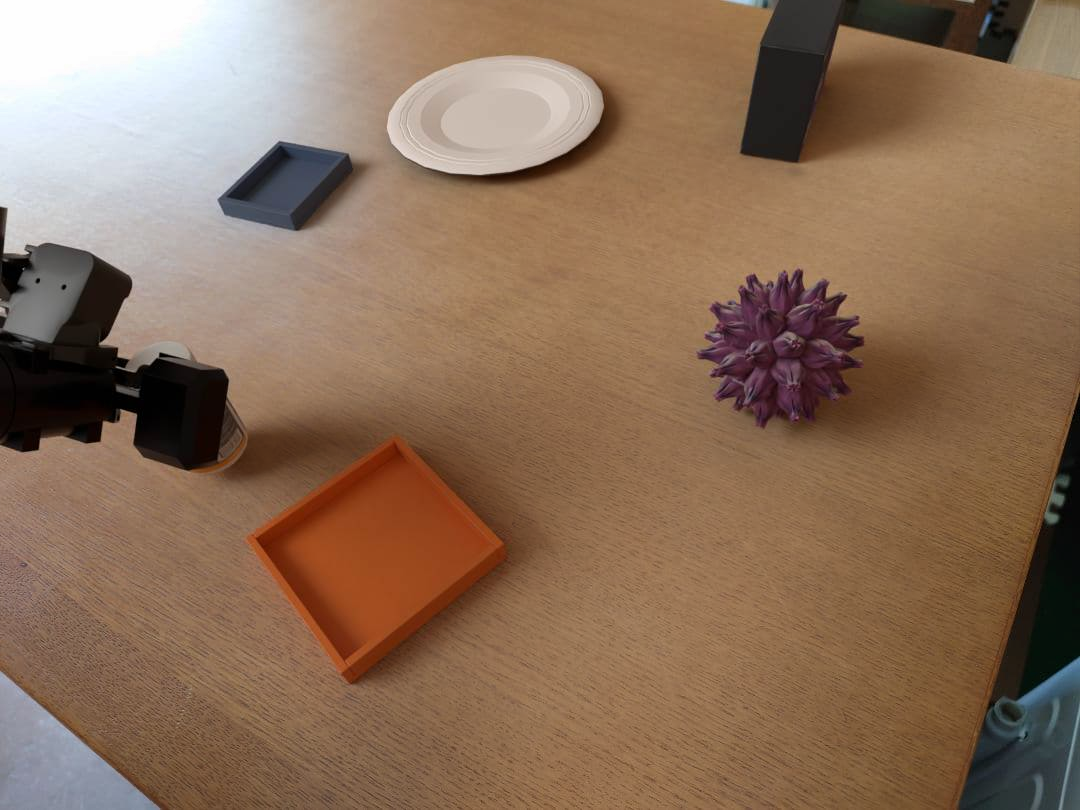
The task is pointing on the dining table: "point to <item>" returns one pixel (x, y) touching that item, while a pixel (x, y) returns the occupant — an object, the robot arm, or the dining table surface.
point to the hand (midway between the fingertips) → (190, 381)
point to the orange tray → (375, 554)
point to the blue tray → (286, 185)
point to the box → (790, 77)
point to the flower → (781, 347)
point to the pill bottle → (232, 427)
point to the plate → (495, 115)
